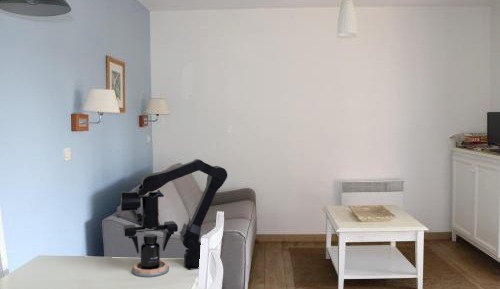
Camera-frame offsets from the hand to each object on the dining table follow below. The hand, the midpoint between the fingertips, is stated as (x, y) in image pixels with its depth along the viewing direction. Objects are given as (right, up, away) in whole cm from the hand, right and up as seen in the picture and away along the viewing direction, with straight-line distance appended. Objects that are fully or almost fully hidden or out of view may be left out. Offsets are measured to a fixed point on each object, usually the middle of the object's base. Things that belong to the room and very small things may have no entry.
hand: (150, 251), depth 156 cm
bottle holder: (0, -7, 0) cm, 7 cm away
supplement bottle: (0, -6, 0) cm, 6 cm away
